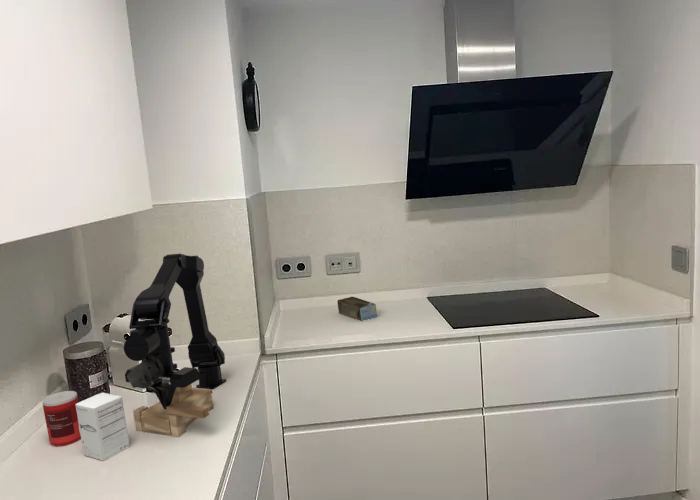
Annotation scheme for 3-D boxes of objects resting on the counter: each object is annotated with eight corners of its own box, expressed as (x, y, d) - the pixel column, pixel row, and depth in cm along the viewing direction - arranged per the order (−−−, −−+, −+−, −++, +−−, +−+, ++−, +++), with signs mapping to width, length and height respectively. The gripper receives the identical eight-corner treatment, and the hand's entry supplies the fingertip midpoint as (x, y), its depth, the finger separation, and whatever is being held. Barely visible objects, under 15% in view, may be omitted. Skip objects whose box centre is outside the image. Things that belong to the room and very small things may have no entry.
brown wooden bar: (173, 410, 134) (172, 403, 134) (209, 414, 129) (208, 407, 129) (167, 413, 132) (166, 406, 132) (203, 418, 128) (202, 411, 127)
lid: (186, 390, 150) (183, 372, 150) (212, 393, 146) (210, 375, 146) (141, 415, 136) (138, 396, 135) (169, 419, 132) (166, 399, 131)
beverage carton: (360, 322, 217) (359, 306, 217) (337, 314, 234) (336, 298, 233) (377, 318, 221) (376, 302, 220) (354, 310, 238) (352, 295, 237)
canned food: (75, 429, 142) (68, 388, 140) (90, 436, 137) (83, 394, 135) (44, 442, 136) (36, 399, 134) (58, 450, 131) (50, 406, 129)
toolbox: (180, 404, 151) (178, 386, 151) (220, 408, 146) (218, 389, 145) (136, 430, 137) (132, 410, 136) (178, 437, 131) (175, 416, 131)
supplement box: (82, 456, 127) (73, 403, 125) (111, 441, 133) (103, 391, 131) (102, 462, 123) (93, 408, 121) (131, 446, 129) (122, 395, 127)
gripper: (102, 355, 128) (112, 419, 130) (162, 360, 120) (172, 428, 122) (138, 341, 138) (147, 400, 140) (197, 344, 130) (205, 407, 132)
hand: (167, 408), depth 134 cm, fingers closed
